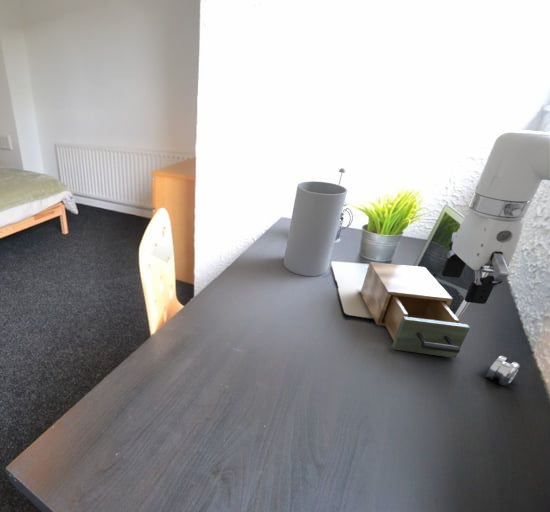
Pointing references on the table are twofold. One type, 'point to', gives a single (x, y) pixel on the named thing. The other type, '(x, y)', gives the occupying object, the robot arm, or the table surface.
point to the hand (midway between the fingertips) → (461, 288)
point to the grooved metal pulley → (503, 370)
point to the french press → (342, 215)
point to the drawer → (424, 326)
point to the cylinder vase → (314, 227)
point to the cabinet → (398, 286)
